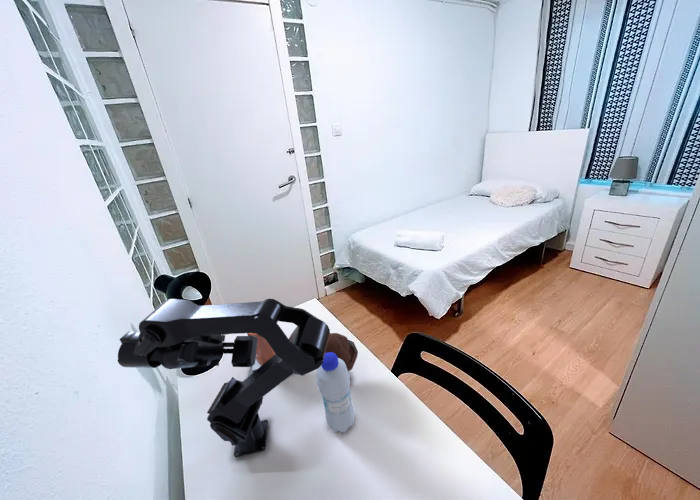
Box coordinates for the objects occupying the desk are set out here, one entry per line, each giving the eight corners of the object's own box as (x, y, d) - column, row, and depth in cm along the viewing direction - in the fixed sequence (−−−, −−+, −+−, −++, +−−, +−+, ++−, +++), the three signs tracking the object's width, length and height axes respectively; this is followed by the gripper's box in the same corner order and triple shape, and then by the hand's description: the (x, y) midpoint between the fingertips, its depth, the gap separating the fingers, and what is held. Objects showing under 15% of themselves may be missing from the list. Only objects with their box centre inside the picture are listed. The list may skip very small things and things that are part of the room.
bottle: (330, 441, 58) (314, 374, 50) (324, 413, 64) (309, 348, 56) (360, 431, 60) (350, 364, 51) (351, 403, 66) (341, 339, 57)
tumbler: (280, 362, 77) (271, 331, 72) (254, 367, 76) (243, 337, 72) (281, 344, 83) (273, 314, 79) (257, 349, 83) (248, 319, 78)
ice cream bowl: (361, 397, 67) (355, 351, 60) (316, 400, 68) (305, 354, 61) (361, 362, 76) (355, 319, 70) (321, 364, 77) (312, 322, 71)
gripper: (242, 308, 55) (273, 316, 69) (157, 309, 57) (204, 317, 72) (234, 369, 51) (268, 364, 66) (144, 367, 54) (196, 363, 68)
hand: (234, 350), depth 68 cm, fingers open, 9 cm apart
